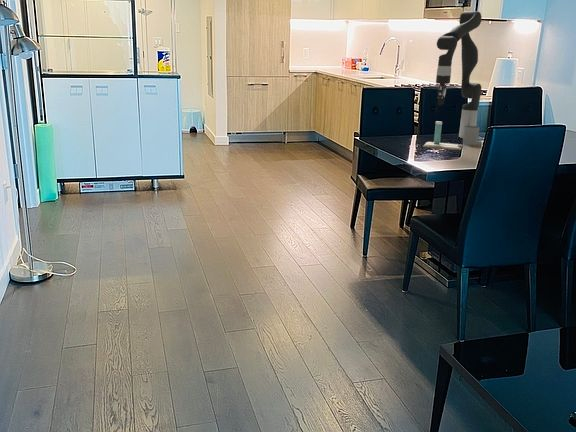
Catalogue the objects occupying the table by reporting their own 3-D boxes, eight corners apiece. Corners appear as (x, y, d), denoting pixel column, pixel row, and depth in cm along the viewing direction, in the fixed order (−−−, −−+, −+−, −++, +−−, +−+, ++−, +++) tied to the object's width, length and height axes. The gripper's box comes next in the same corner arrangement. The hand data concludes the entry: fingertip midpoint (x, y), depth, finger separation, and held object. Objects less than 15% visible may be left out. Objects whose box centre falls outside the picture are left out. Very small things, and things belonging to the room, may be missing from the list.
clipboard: (426, 143, 326) (427, 140, 326) (462, 146, 319) (463, 143, 319) (423, 147, 314) (423, 143, 313) (460, 150, 307) (460, 147, 306)
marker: (433, 142, 321) (436, 121, 318) (440, 143, 320) (442, 121, 317) (433, 143, 318) (435, 121, 315) (439, 144, 317) (441, 122, 313)
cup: (461, 144, 326) (463, 127, 323) (463, 142, 333) (465, 125, 330) (476, 145, 322) (478, 128, 320) (478, 143, 330) (480, 126, 327)
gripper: (438, 73, 316) (435, 103, 320) (434, 74, 303) (431, 105, 308) (452, 74, 313) (449, 103, 318) (449, 75, 300) (445, 106, 305)
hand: (440, 104), depth 313 cm, fingers open, 8 cm apart
